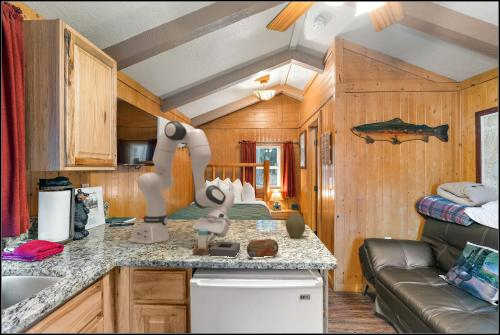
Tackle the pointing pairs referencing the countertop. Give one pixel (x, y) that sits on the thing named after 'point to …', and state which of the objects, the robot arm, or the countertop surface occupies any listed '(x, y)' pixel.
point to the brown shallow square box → (201, 251)
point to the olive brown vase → (295, 225)
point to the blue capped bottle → (203, 239)
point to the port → (225, 249)
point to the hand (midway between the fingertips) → (202, 241)
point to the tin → (262, 248)
